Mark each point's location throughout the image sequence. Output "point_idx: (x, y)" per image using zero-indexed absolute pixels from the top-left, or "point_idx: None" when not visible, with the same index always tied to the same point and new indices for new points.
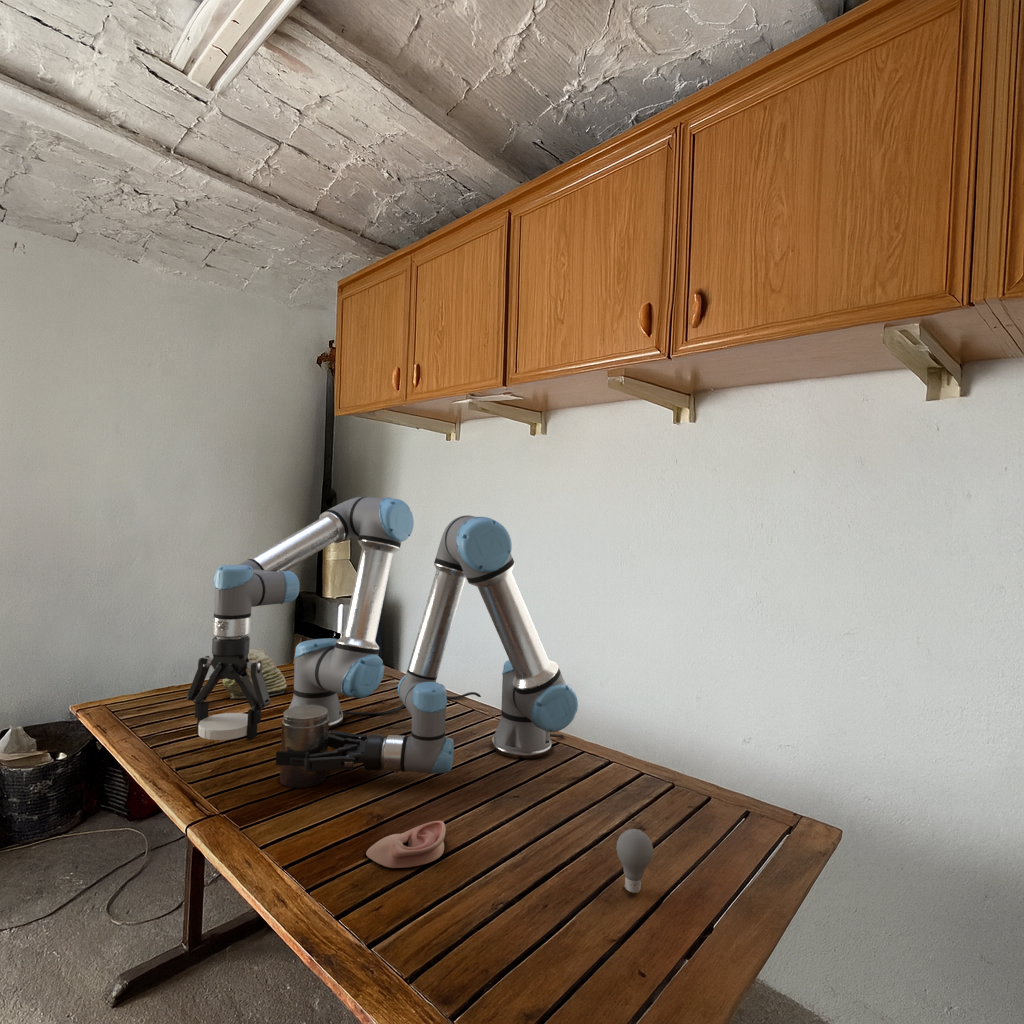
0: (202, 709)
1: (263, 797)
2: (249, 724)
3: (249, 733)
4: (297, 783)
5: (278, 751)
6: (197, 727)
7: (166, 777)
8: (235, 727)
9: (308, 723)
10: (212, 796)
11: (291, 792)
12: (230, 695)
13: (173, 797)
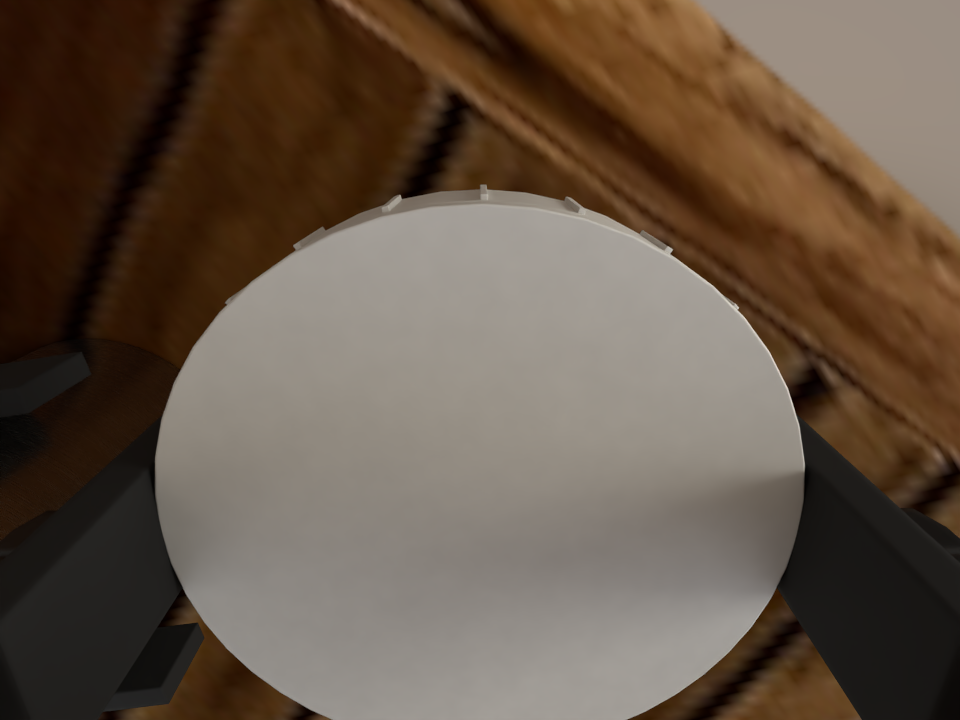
0: (891, 594)
1: (149, 192)
2: (105, 481)
3: (159, 424)
4: (43, 350)
5: (15, 409)
6: (800, 424)
7: (825, 278)
8: (237, 382)
9: None
10: (431, 127)
11: (51, 287)
12: None
13: (646, 51)
